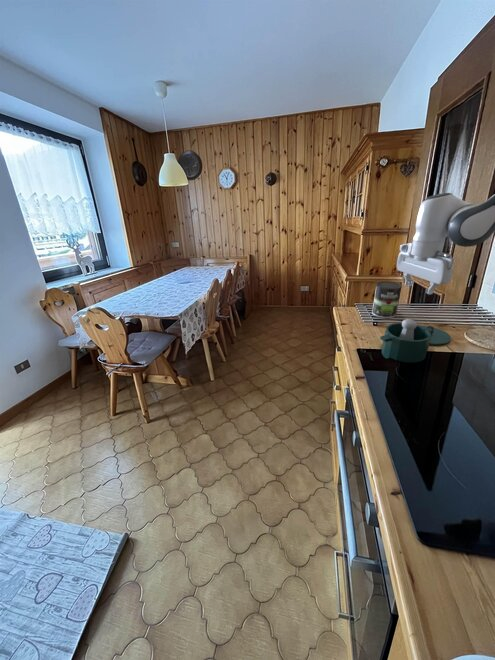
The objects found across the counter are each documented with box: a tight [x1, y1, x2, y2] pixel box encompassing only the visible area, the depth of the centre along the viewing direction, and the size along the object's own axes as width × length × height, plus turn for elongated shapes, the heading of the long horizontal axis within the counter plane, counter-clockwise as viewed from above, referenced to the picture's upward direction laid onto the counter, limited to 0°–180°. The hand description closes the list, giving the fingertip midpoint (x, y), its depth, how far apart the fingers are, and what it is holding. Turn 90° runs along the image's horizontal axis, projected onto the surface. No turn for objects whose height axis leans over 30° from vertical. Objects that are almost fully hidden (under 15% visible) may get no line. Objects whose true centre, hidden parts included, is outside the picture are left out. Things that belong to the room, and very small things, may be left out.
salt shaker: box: [399, 318, 418, 340], centre depth 97 cm, size 6×6×13 cm
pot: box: [379, 322, 434, 363], centre depth 98 cm, size 14×19×10 cm
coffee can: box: [371, 280, 403, 319], centre depth 128 cm, size 10×10×14 cm
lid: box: [421, 325, 452, 346], centre depth 109 cm, size 15×15×4 cm
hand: (418, 289), depth 98 cm, fingers open, 8 cm apart
